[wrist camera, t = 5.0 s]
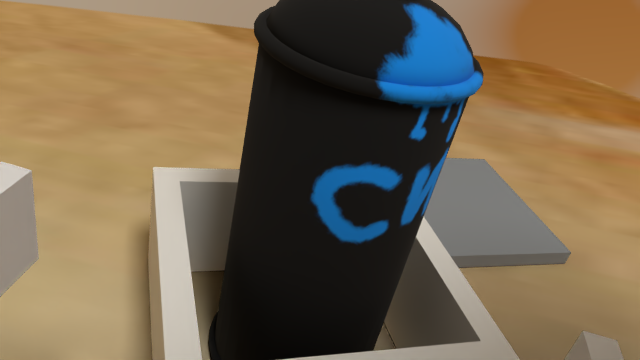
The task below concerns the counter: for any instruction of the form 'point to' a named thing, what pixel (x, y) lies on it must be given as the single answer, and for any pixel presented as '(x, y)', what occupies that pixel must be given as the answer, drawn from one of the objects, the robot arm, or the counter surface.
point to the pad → (487, 219)
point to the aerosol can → (336, 171)
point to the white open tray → (401, 321)
